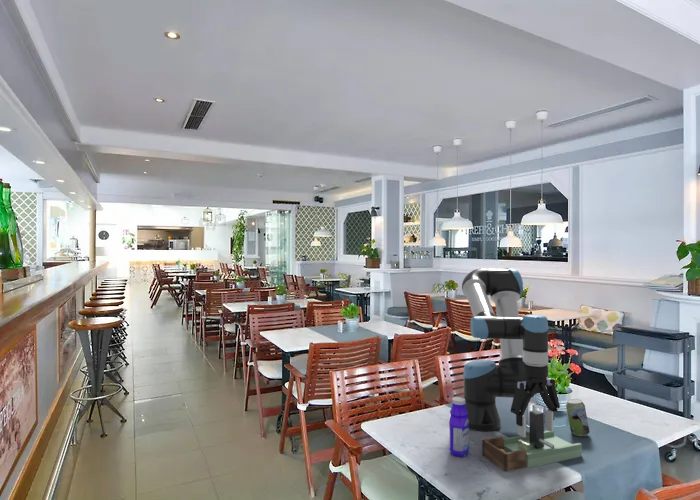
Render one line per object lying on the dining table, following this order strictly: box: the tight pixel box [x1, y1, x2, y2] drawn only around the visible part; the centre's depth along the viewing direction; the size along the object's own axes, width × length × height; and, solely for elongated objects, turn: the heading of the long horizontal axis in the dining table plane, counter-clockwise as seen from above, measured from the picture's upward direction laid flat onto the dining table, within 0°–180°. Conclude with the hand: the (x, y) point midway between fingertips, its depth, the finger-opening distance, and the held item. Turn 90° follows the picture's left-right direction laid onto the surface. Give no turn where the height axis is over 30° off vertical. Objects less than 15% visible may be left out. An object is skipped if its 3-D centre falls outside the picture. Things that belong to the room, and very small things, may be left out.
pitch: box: [504, 430, 583, 469], centre depth 138 cm, size 22×12×4 cm, turn 110°
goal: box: [481, 435, 527, 472], centre depth 133 cm, size 8×11×5 cm
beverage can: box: [565, 398, 590, 437], centre depth 154 cm, size 6×7×12 cm
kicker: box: [518, 409, 554, 451], centre depth 137 cm, size 7×13×11 cm, turn 20°
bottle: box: [448, 396, 470, 458], centre depth 139 cm, size 7×6×17 cm
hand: (535, 433), depth 138 cm, fingers open, 10 cm apart
